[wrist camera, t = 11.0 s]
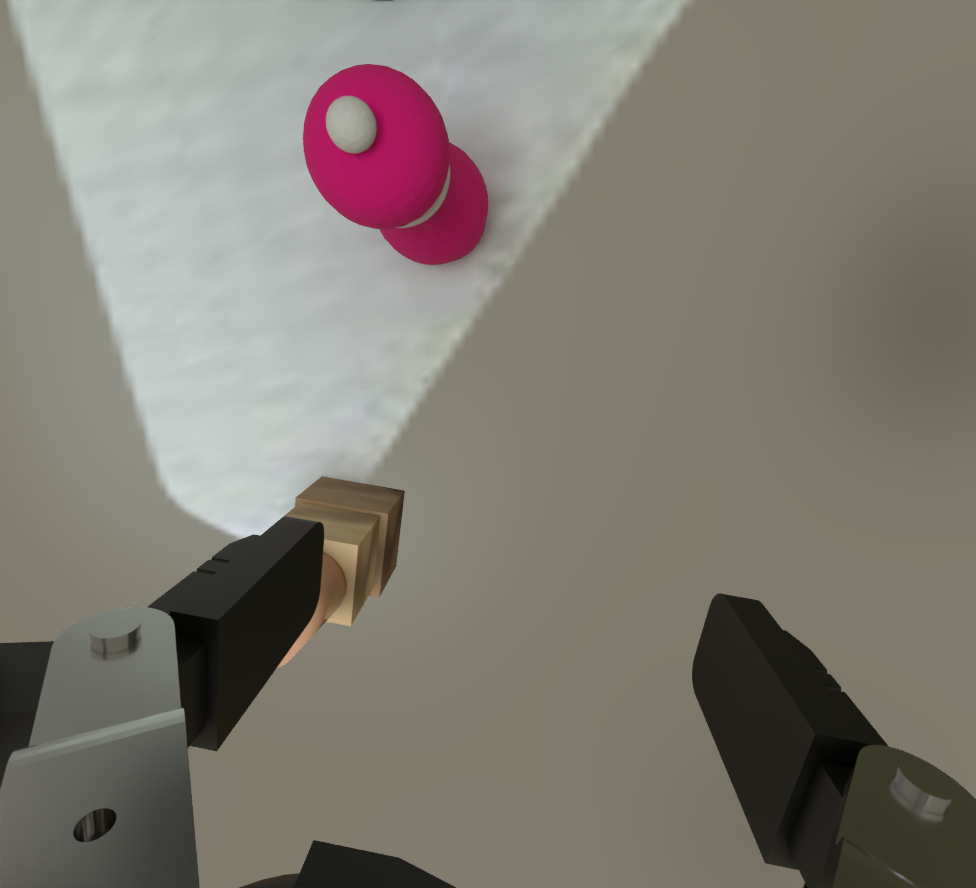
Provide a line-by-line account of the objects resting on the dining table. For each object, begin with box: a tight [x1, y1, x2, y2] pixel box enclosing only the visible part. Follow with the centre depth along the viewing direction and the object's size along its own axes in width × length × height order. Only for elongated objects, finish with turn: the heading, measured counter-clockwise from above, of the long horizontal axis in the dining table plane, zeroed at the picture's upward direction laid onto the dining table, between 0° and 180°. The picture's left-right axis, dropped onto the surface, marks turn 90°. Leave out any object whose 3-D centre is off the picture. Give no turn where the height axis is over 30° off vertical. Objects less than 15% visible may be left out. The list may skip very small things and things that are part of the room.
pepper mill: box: [303, 64, 488, 265], centre depth 27 cm, size 7×7×20 cm
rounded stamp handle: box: [277, 552, 345, 668], centre depth 31 cm, size 5×5×6 cm
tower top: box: [285, 502, 381, 626], centre depth 37 cm, size 6×6×5 cm
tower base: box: [295, 477, 405, 597], centre depth 42 cm, size 7×7×5 cm
